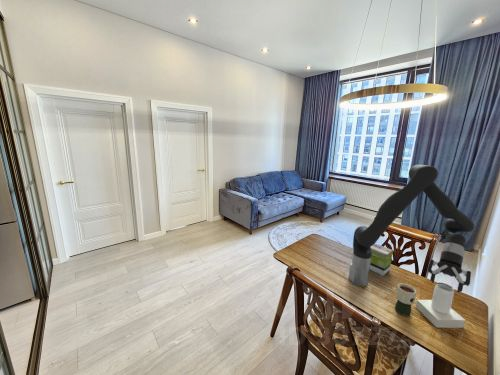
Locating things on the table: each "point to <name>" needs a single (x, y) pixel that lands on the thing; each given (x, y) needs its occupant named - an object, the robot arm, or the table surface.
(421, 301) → the cream plinth
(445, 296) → the can
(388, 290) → the table surface
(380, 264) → the tea box
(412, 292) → the character mug
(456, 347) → the table surface
